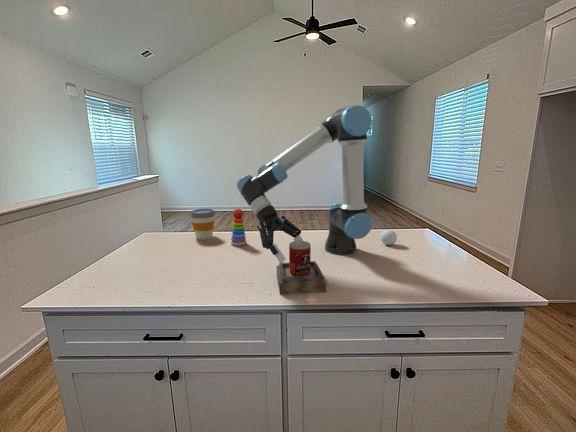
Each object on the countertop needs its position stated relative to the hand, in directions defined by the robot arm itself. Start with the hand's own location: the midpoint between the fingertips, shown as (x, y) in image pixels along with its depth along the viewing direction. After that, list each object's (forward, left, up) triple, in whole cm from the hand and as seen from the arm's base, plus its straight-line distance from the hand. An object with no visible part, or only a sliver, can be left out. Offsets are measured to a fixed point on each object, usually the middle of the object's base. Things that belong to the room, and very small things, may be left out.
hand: (294, 255), depth 111 cm
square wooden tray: (-2, +1, -10) cm, 10 cm away
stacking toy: (+23, -49, -10) cm, 55 cm away
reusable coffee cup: (+43, -64, -10) cm, 78 cm away
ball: (-53, -38, -10) cm, 66 cm away
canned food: (-2, +1, -6) cm, 7 cm away
